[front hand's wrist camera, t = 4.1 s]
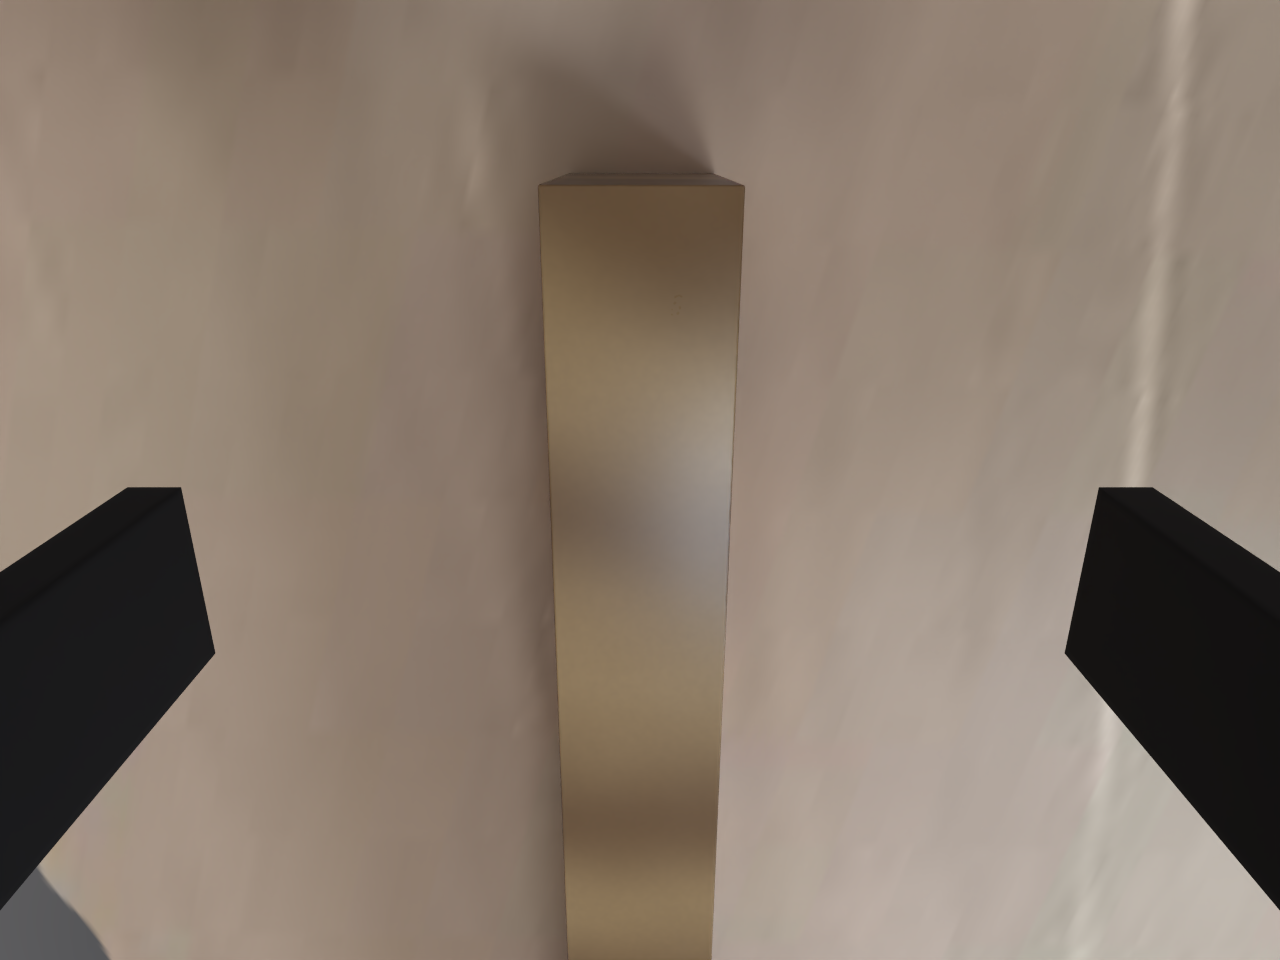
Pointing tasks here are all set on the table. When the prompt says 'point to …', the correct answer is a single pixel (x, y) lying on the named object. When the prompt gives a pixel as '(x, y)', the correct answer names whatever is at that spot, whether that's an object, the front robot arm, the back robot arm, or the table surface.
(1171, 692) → the front robot arm
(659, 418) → the beam
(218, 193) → the table surface
